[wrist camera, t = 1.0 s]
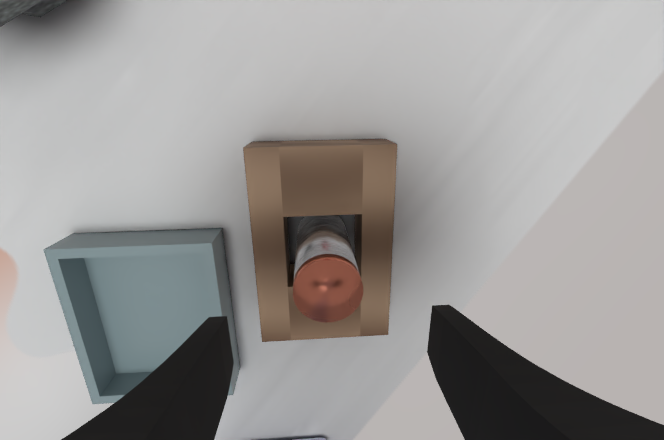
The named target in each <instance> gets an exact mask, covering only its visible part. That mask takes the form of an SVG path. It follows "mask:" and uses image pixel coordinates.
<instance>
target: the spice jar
mask: <svg viewBox="0 0 664 440" xmlns="http://www.w3.org/2000/svg"><path fill="white" fill-rule="evenodd" d="M362 297H363V283H362V280H361V277H360V273H359V270H358V267H357V264H356V260H355V257H354V254H353V251H352V247H351V244H350V241H349V238H348V234H347V231H346V228H345V225H344V223H343V221H342V219H341V218H340V217H339V216H338V215H322V216H305V217H304V218H303V219H302V220H301V222H300V224H299V226H298V231H297V244H296V256H295V269H294V282H293V299H294V302H295V305H296V306H297V308H298V309H299V311H300V312H301V313H302V314H303V315H305V316H306V317H308V318H310V319H312V320H314V321H318V322H324V323H329V322H336V321H339V320H342V319H344V318H346V317H348V316H350V315H351V314H352V313H353V312H354V311H355V310H356V309H357V308H358V306H359V305H360V303H361V300H362Z"/></svg>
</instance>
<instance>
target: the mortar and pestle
mask: <svg viewBox="0 0 664 440" xmlns="http://www.w3.org/2000/svg"><path fill="white" fill-rule="evenodd" d="M65 1H67V0H0V26H2V25H4V24H5V23H7V22H9V21H10V20H12V19H13V18H15V17H17V16H18V15H20V14H21V13H22V14H27V15H33V16H38V17H41V16H43V15H44V14H46V13H47V12H49V11H51V10H52V9H54V8H55V7H57V6H59V5H60V4H62V3H63V2H65Z"/></svg>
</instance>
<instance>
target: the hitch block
mask: <svg viewBox="0 0 664 440" xmlns="http://www.w3.org/2000/svg"><path fill="white" fill-rule="evenodd" d="M243 150H244V161H245V171H246V181H247V191H248V201H249V212H250V222H251V232H252V242H253V253H254V263H255V273H256V283H257V293H258V304H259V314H260V324H261V334H262V342H268V341H286V340H303V339H321V338H338V337H356V336H373V335H388V327H389V306H390V285H391V264H392V243H393V222H394V201H395V180H396V159H397V144H396V143H393V142H391V141H389V140H386V139H352V140H305V141H258V142H251V143H249V144H248V145H246V146H245V147H244V148H243ZM351 214H355V260H356V264H357V267H358V270H359V273H360V277H361V280H362V283H363V297H362V300H361V303H360V305H359V306H358V308H357V309H356V310H355V311H354V312H353V313H352V314H351V315H350V316H348V317H346V318H344V319H342V320H339V321H336V322H329V323H324V322H318V321H314V320H312V319H310V318H308V317H306V316H305V315H303V314H302V313H301V312H300V311H299V309H298V308H297V306H296V305H295V302H294V299H293V282H294V269H295V264H290V255H289V238H288V221H287V217H293V216H322V215H351Z"/></svg>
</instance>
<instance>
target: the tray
mask: <svg viewBox="0 0 664 440" xmlns="http://www.w3.org/2000/svg"><path fill="white" fill-rule="evenodd" d="M44 253H45V256H46V259H47V262H48V265H49V269H50V272H51V275H52V278H53V281H54V284H55V287H56V291H57V294H58V297H59V300H60V303H61V306H62V309H63V313H64V316H65V319H66V322H67V325H68V328H69V331H70V335H71V338H72V341H73V344H74V347H75V350H76V353H77V356H78V360H79V363H80V366H81V369H82V372H83V376H84V378H85V382H86V385H87V388H88V391H89V394H90V397H91V401H92V403H93V404H103V403H115V402H117V401H118V400H119V399H121V398H122V397H123V396H124V395H126V394H127V393H128V392H130V391H131V390H132V389H133V388H134V387H136V386H137V385H138V384H139V383H141V382H142V381H143V380H144V379H145V378H146V377H147V376H149V375H150V374H151V373H152V372H153V371H154V370H155V369H156V368H157V367H159V366H160V365H161V364H162V363H163V362H164V361H165V360H166V359H167V358H168V357H169V356H170V355H171V354H172V353H174V352H175V351H176V350H177V349H178V348H179V347H180V346H181V345H182V344H183V343H184V342H185V341H186V340H187V339H188V338H189V337H190V336H191V335H192V334H193V333H194V332H195V331H196V329H197V328H198V327H199V326H200V325H201V324H202V323H203V322H204V321H205V320H207V319H208V318H209V317H218V316H227V319H228V326H229V333H230V340H231V347H232V354H233V360H234V365H233V371H232V377H231V382H230V387H229V392H228V395H233V393H234V389H235V385H236V382H237V378H238V374H239V370H240V364H239V356H238V348H237V340H236V333H235V325H234V317H233V309H232V301H231V293H230V286H229V278H228V270H227V262H226V254H225V246H224V239H223V231H222V228H211V229H183V230H156V231H128V232H101V233H73V234H71V235H69V236H68V237H66V238H64V239H62V240H60V241H58V242H57V243H55V244H53V245H51V246H49V247H48V248H46V249H44Z"/></svg>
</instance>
